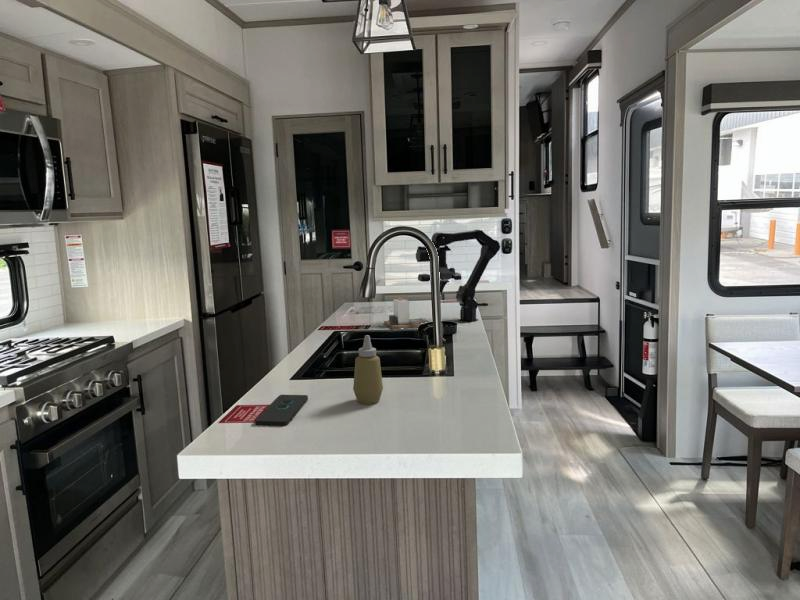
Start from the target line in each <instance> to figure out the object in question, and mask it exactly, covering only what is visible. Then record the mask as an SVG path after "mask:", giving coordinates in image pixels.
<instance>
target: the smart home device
mask: <svg viewBox="0 0 800 600" xmlns="http://www.w3.org/2000/svg"><path fill="white" fill-rule="evenodd" d="M308 401H309V396H308V394H279V395H278V396H277V397H276V398H274V400H273V401H272V402H271V403H270V404H269V405H268V406H267V407H266V408H265V409H264V410H263V411H262V413H260V415H258V416H257V417H256V418H255V419H254V420H255V421H254V422H255V426H263V427H264V426H267V427H268V426H269V427H273V426H274V427H286V426H288V425H289V424H290V423H291V421H292V420H293V419H294V418H295V417H296V415H297V414H298V413H299V412H300V411H301V409H302V408H303V407H304V405H305V404H306V403H307V402H308Z"/></svg>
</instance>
